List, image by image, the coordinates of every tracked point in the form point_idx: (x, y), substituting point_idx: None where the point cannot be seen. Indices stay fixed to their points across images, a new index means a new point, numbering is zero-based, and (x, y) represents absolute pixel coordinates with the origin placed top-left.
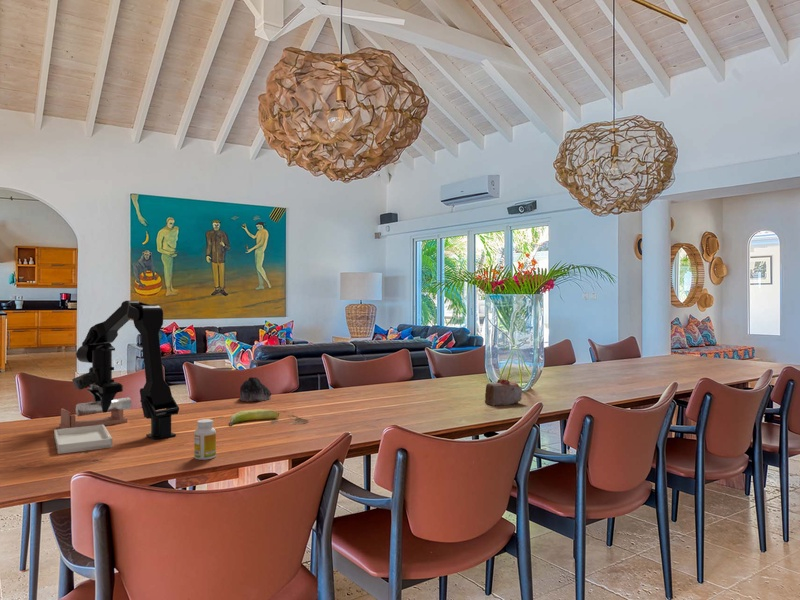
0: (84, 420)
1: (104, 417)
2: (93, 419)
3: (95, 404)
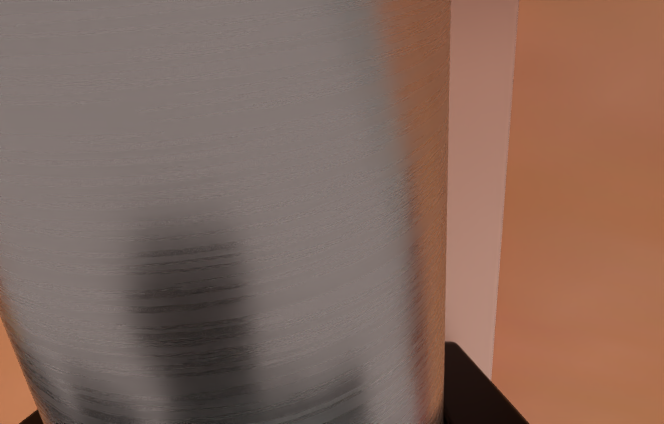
0: (495, 8)
1: (485, 345)
2: (459, 173)
3: (27, 383)
